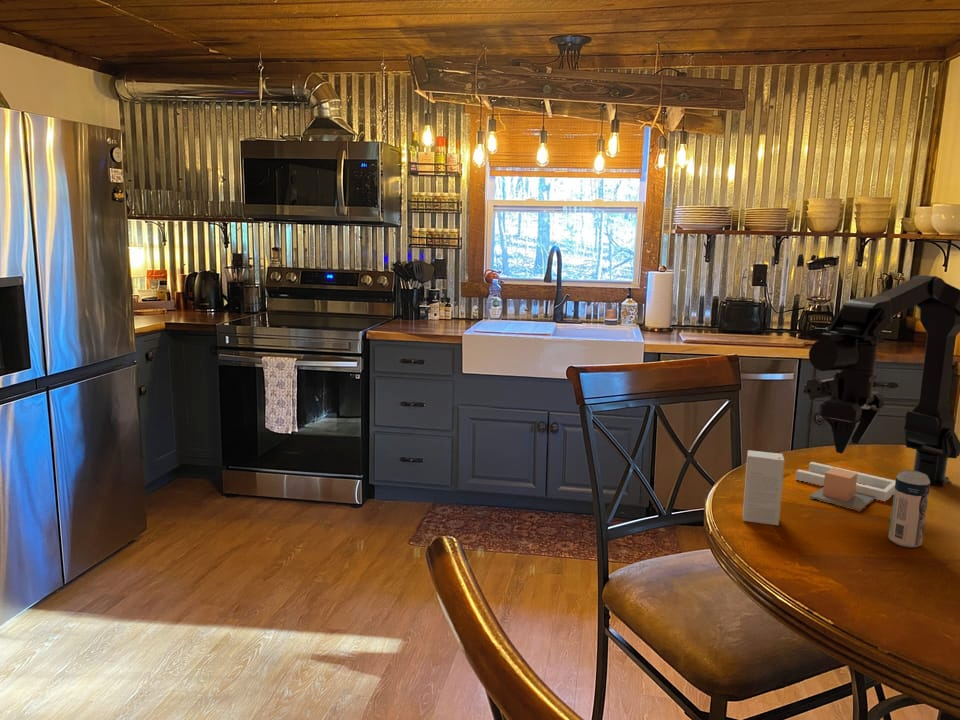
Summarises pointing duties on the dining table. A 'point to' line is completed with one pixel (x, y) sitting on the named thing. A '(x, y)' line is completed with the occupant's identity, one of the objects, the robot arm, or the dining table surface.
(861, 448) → the dining table surface
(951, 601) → the dining table surface
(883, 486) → the channel
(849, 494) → the block
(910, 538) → the beer can
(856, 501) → the coaster
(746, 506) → the skincare box
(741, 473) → the dining table surface
